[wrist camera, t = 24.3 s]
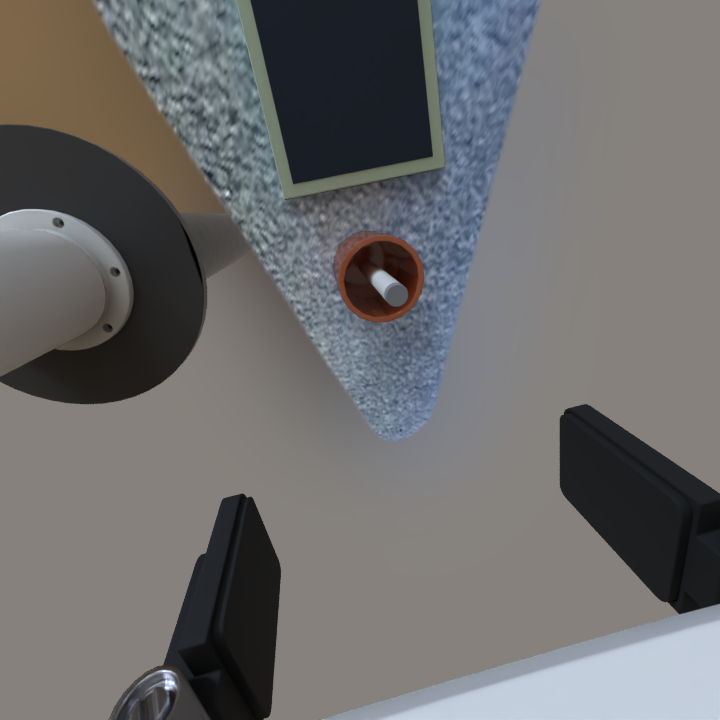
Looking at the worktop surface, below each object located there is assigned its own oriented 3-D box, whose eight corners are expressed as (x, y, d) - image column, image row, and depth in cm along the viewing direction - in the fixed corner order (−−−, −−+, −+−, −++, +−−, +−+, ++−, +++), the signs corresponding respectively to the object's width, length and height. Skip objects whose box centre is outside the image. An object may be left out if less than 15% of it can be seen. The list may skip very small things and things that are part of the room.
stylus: (361, 276, 35) (387, 309, 23) (358, 261, 34) (384, 286, 22) (376, 273, 35) (409, 304, 23) (373, 258, 34) (406, 282, 22)
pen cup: (341, 306, 36) (348, 330, 29) (326, 238, 34) (330, 244, 26) (404, 293, 36) (428, 313, 29) (395, 224, 34) (418, 226, 27)
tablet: (285, 200, 32) (284, 199, 31) (216, -83, 25) (212, -95, 24) (441, 168, 33) (445, 167, 32) (415, -116, 26) (419, -129, 25)
